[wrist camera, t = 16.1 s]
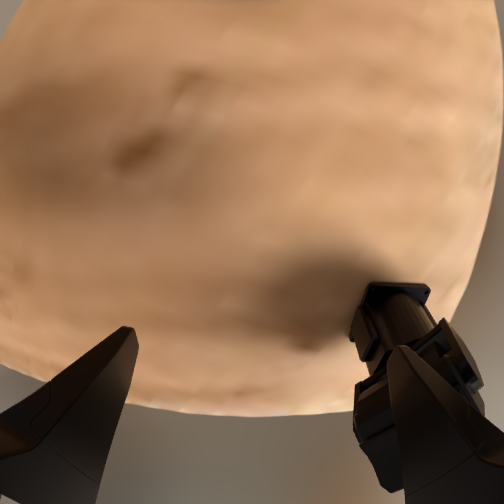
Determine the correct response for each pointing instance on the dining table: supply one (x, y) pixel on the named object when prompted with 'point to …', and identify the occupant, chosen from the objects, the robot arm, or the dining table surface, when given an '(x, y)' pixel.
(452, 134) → the dining table surface
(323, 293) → the dining table surface
